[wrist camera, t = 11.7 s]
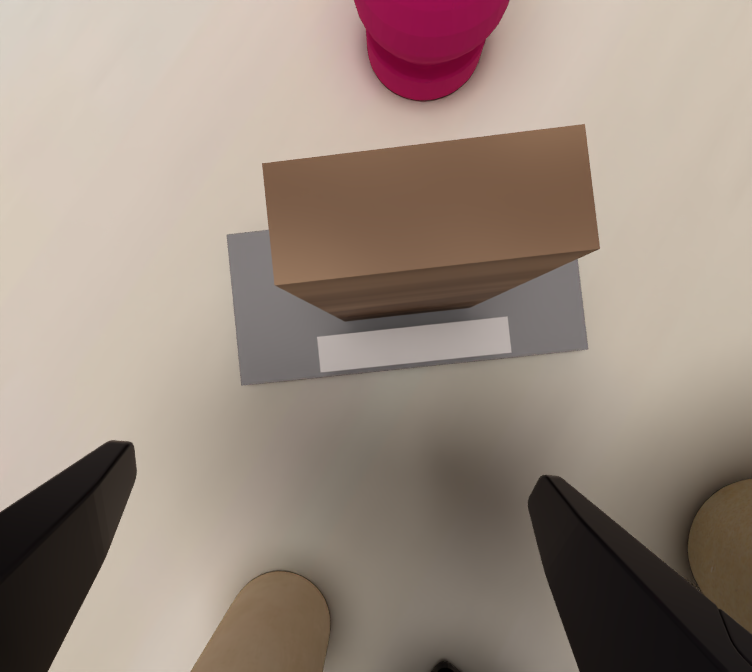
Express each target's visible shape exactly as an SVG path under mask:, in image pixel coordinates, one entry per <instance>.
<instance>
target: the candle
mask: <svg viewBox="0 0 752 672" xmlns="http://www.w3.org/2000/svg"><path fill="white" fill-rule="evenodd" d="M329 636H330V615H329V610H328V606H327V604H326V601H325V599H324V597H323V596H322V594H321V593H320V591H319V590H318V589H317V588H316V587H315V586H314V585H313V584H312V583H311V582H310V581H309V580H307V579H305V578H304V577H302V576H300V575H297V574H294V573H291V572H284V571H276V572H270V573H266V574H263V575H261V576H258V577H257V578H255V579H253V580H252V581H251V582H249V583H248V584H247V585H246V586H245V587H244V588H243V589H242V590H241V591H240V593H239V594H238V595H237V597H236V598H235V600H234V601H233V603H232V604H231V606H230V607H229V609H228V611H227V612H226V614H225V616H224V617H223V619H222V621H221V622H220V624H219V626H218V627H217V629H216V631H215V632H214V634H213V635H212V637H211V639H210V640H209V642H208V644H207V645H206V647H205V649H204V650H203V652H202V654H201V655H200V657H199V659H198V660H197V662H196V663H195V665H194V667H193V668H192V670H191V672H323V667H324V662H325V657H326V652H327V647H328V642H329Z"/></svg>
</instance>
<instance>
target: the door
mask: <svg viewBox="0 0 752 672" xmlns="http://www.w3.org/2000/svg"><path fill="white" fill-rule="evenodd" d="M262 167H263V176H264V186H265V196H266V206H267V216H268V226H269V236H270V246H271V255H272V265H273V275H274V285H275V286H277V287H279V288H281V289H283V290H285V291H287V292H288V293H290V294H292V295H294V296H296V297H298V298H300V299H302V300H304V301H306V302H308V303H310V304H312V305H314V306H316V307H318V308H320V309H321V310H323V311H325V312H327V313H329V314H331V315H333V316H335V317H337V318H339V319H341V320H343V321H355V320H364V319H373V318H382V317H391V316H400V315H410V314H419V313H428V312H437V311H446V310H455V309H464V308H471V307H473V306H475V305H477V304H479V303H482V302H484V301H486V300H488V299H490V298H493V297H495V296H497V295H499V294H501V293H504V292H506V291H508V290H510V289H512V288H515V287H517V286H519V285H521V284H523V283H526V282H528V281H530V280H532V279H534V278H537V277H539V276H541V275H543V274H545V273H548V272H550V271H552V270H554V269H556V268H559V267H561V266H563V265H565V264H567V263H570V262H572V261H574V260H576V259H578V258H581V257H583V256H585V255H587V254H589V253H592V252H594V251H596V250H598V249H600V246H599V237H598V229H597V221H596V213H595V204H594V196H593V188H592V180H591V171H590V163H589V155H588V147H587V138H586V130H585V124H582V125H574V126H566V127H558V128H549V129H541V130H533V131H525V132H517V133H508V134H500V135H492V136H484V137H476V138H467V139H459V140H451V141H443V142H435V143H426V144H418V145H410V146H402V147H394V148H385V149H377V150H369V151H361V152H353V153H344V154H336V155H328V156H320V157H312V158H303V159H295V160H287V161H279V162H271V163H262Z"/></svg>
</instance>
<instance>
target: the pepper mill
mask: <svg viewBox="0 0 752 672" xmlns="http://www.w3.org/2000/svg"><path fill="white" fill-rule="evenodd" d="M354 2H355V5H356V8H357V11H358V14H359V17H360V19H361V21H362V23H363V24H364V26H365V28H366V36H367V51H368V56H369V60H370V63H371V66H372V68H373V70H374V72H375V74H376V75H377V77H378V78H379V80H380V81H381V82H382V83H383V84H384V85H385V86H386V87H387V88H388V89H390V90H391V91H393V92H394V93H396V94H398V95H400V96H402V97H406V98H409V99H413V100H434V99H437V98H440V97H443V96H446V95H448V94H450V93H452V92H454V91H456V90H457V89H458V88H460V87H461V86H462V85H463V84H464V83H465V82H466V81H467V80H468V79H469V78H470V76H471V75H472V74H473V72H474V70H475V68H476V66H477V64H478V62H479V59H480V55H481V52H482V49H483V46H484V43H485V40H486V38H487V37H488V36H489V35H490V34H491V33H492V31H493V30H494V29H495V28H496V26H497V25H498V24H499V22H500V20H501V18H502V16H503V14H504V12H505V10H506V8H507V6H508V3H509V0H354Z"/></svg>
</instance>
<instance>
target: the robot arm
mask: <svg viewBox="0 0 752 672" xmlns="http://www.w3.org/2000/svg"><path fill="white" fill-rule="evenodd" d="M136 474H137V468H136V459H135V450H134V445H133V443H131V442H129V441H116V440H111V441H108V442H106V443H104V444H103V445H101V446H100V447H98V448H97V449H95V450H94V451H92V452H91V453H89V454H88V455H86V456H85V457H83V458H82V459H80V460H79V461H77V462H76V463H74V464H73V465H71V466H69V467H68V468H66V469H65V470H63V471H62V472H60V473H59V474H57V475H56V476H54V477H53V478H51V479H50V480H48V481H47V482H45V483H44V484H42V485H41V486H39V487H38V488H36V489H35V490H33V491H31V492H30V493H28V494H27V495H25V496H24V497H22V498H21V499H19V500H18V501H16V502H15V503H13V504H12V505H10V506H9V507H7V508H6V509H4V510H3V511H1V512H0V672H48V670H49V668H50V666H51V664H52V662H53V660H54V658H55V656H56V654H57V652H58V651H59V649H60V647H61V645H62V643H63V641H64V639H65V637H66V635H67V633H68V631H69V629H70V627H71V625H72V623H73V621H74V619H75V617H76V615H77V613H78V611H79V609H80V607H81V606H82V604H83V602H84V600H85V598H86V596H87V594H88V592H89V590H90V588H91V586H92V584H93V582H94V580H95V578H96V576H97V574H98V572H99V570H100V568H101V566H102V564H103V562H104V560H105V558H106V555H107V553H108V550H109V548H110V545H111V543H112V540H113V538H114V535H115V532H116V530H117V527H118V525H119V522H120V519H121V517H122V514H123V512H124V509H125V506H126V504H127V501H128V499H129V496H130V493H131V491H132V488H133V486H134V483H135V479H136ZM528 509H529V513H530V517H531V521H532V525H533V529H534V533H535V537H536V541H537V545H538V549H539V553H540V557H541V561H542V564H543V568H544V571H545V575H546V578H547V581H548V584H549V587H550V589H551V592H552V595H553V598H554V601H555V604H556V606H557V609H558V612H559V615H560V618H561V620H562V623H563V626H564V629H565V632H566V635H567V637H568V640H569V643H570V646H571V649H572V651H573V654H574V657H575V660H576V663H577V666H578V668H579V671H580V672H752V634H751V633H750V632H749V631H747V630H746V629H745V628H744V627H742V626H741V625H740V624H739V623H737V622H736V621H735V620H734V619H733V618H731V617H730V616H729V615H728V614H727V613H725V612H724V611H723V610H722V609H719V608H717V606H716V604H714V603H713V602H712V601H711V600H709V599H708V598H707V597H706V596H705V595H703V594H702V593H701V592H700V591H699V590H697V589H696V588H695V587H694V586H692V585H691V584H690V583H689V582H688V581H686V580H685V579H684V578H683V577H682V576H680V575H679V574H678V573H677V572H675V571H674V570H673V569H672V568H671V567H669V566H668V565H667V564H666V563H664V562H663V561H662V560H661V559H660V558H658V557H657V556H656V555H655V554H654V553H652V552H651V551H650V550H649V549H647V548H646V547H645V546H644V545H643V544H641V543H640V542H639V541H638V540H637V539H635V538H634V537H633V536H632V535H630V534H629V533H628V532H627V531H626V530H624V529H623V528H622V527H621V526H620V525H618V524H617V523H616V522H615V521H613V520H612V519H611V518H610V517H609V516H607V515H606V514H605V513H604V512H603V511H601V510H600V509H599V508H598V507H596V506H595V505H594V504H593V503H592V502H590V501H589V500H588V499H587V498H585V497H584V496H583V495H582V494H581V493H579V492H578V491H577V490H576V489H575V488H573V487H572V486H571V485H570V484H568V483H567V482H566V481H565V480H564V479H562V478H561V477H559V476H552V475H543V476H541V477H540V478H539V480H538V481H537V483H536V485H535V487H534V489H533V491H532V493H531V494H530V496H529V499H528ZM432 672H460V671H459V670H457V669H456V668H455V667H454V666H453V665H451V664H450V663H448V662H444V661H443V662H440V663H439V664H438V665H437V666H436V667H435V668H434V669H433V671H432Z"/></svg>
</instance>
